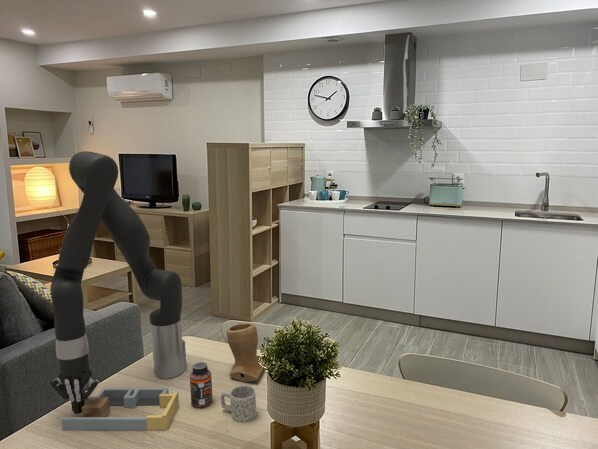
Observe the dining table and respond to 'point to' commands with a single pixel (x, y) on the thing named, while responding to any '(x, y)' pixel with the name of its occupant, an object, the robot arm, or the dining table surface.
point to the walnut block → (96, 407)
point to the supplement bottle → (201, 385)
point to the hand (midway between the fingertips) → (79, 412)
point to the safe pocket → (165, 419)
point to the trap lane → (118, 398)
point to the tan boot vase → (244, 352)
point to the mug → (241, 403)
